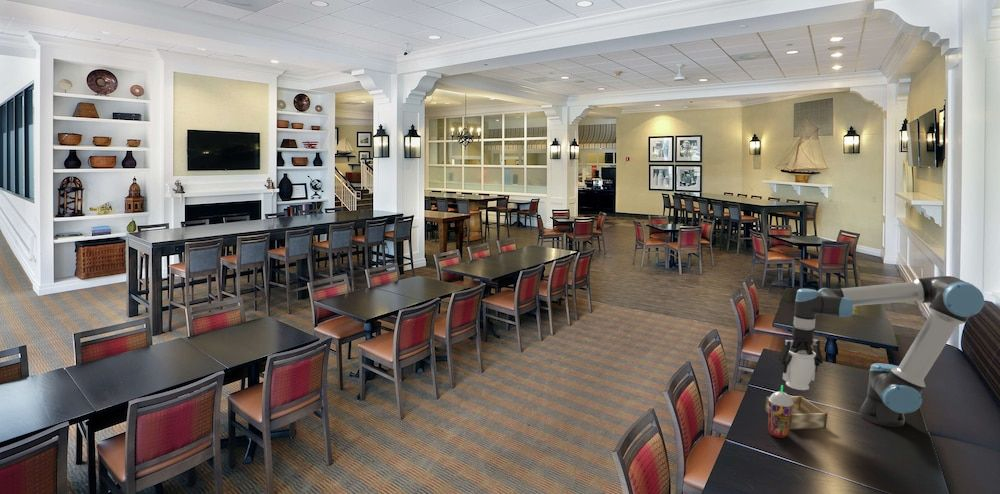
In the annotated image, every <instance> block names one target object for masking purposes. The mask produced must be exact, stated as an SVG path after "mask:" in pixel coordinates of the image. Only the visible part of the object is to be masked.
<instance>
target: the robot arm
mask: <svg viewBox="0 0 1000 494" xmlns="http://www.w3.org/2000/svg"><path fill="white" fill-rule="evenodd" d="M904 302H905V303H906V302H907V303H909V302H918V303H919V304H927V303H929V305H928V309H929V312H930V314H929V316H928V317H927V319H926V320H925V322H924V323H923V325H922V327H921V328H920V331H919V332H918V334H917V335H916V336H915V339H914V340H913V342H912V343H911V345H910V347H909V348H908V350H907V352H906V353H905V356H904V357H903V359H902V360H901V362H900V364H899V365H895V364H890V363H880V362H875V363H872V364H871V365H870V369H869V376H868V385H867V393H866V398H865V400H864V402H863V403H862V405H861V406H860V408H859V409H860V410H859V415H860V417H861V418H862V419H864V420H866V421H868V422H869V423H873V424H874V425H875V424H876V425H879V426H883V427H888V428H899V427H903V426H904V425H905V419H906V418H905V414H910V413H914V412H916V411H917V410H919V409H920V407H921V406H922V403H923V399H922V395H921V394H922V393H923V391H924V390H925V388H926V384H925V378H926V376H927V375H928V374H929V372H930V370H931V369H932V367H933V366H934V364H935V362H936V361H937V359H938V357H940V355H941V353H942V351H943V349H944V348H945V346H946V345H947V343H948V341H949V339H950V338H951V337H952V335H953V333H954V332H955V330H956V329H957V327H958V326H959V325H962V324H966V323H967V321H968V319H969V318H970V317H972V316H975V315H977V314H979V312H981V311H982V309H983V308H984V306H985V296H984V295H983V292H982V291H981V290H980V289H979V288H978V287H977V286H975V285H974V284H973V283H971V282H968V281H965V280H962V279H960V278H957V277H955V276H952V275H951V276H950V275H940V276H931V277H922V278H915V279H914V280H912V281H906V282H898V283H897V282H896V283H884V284H875V285H867V286H866V285H865V286H856V287H855V286H854V287H843V288H828V287H822V288H820V289H818V290H816V289H812V288H799V289H798V290H796V295H795V299H794V314H793V323H792V324H793V327H792V333H791V335H792V338H791V339H784V340H783V345H782V349H781V351H780V355H779V357H778V359H777V362H778V363H779V364H781V373H782V380H784V381H785V383H786V382H788V380H789V370H790V366H789V365H788V364H789V363H790V361H791V359H792V355H790V354H788V352H789V350H790V351H791V352H794V353H797V352H798V351H801V350H806V352H807V354H808V355H812V354H813V352H815V353H816V356H815V357H814V361H815V368H814V373H813V376H812V379H811V381H813V382H815V377H816V373H817V371H818V367H819V366H820V364H823V362H824V361H823V358H822V357H823V356H822V352H821V345H820V344H821V341H820V340H818V339H817V338H814V336H815V335H814V334H815V327H816V318H817V317H816V316H817V315H822V316H832V317H839V318H843V317H844V318H850V317H851V316H852V315H853V311H854V307H855V306H867V305H869V306H870V305H871V306H872V305H881V304H882V305H883V304H894V303H904ZM811 346H812V347H811ZM790 347H791V348H790ZM794 348H796V349H794Z"/></svg>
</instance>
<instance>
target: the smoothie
mask: <svg viewBox="0 0 1000 494" xmlns="http://www.w3.org/2000/svg"><path fill="white" fill-rule="evenodd" d="M768 397H769V412H767V414H768V418H767V420H768V422H767V424H768V425H767V430H768V432H769V434H770V435H771V436H773V437H774V438H781V439H782V438H786V437H787V435H788V433H789V430H790V429H789V423H790V417H791V411H792V405H793V402H792V400H791V398H790V397H789V394H788V393H786V392H784V385H783V384H781V385H780V391H775V392H773V393H772V394H771V395H770V396H768Z"/></svg>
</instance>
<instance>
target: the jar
mask: <svg viewBox="0 0 1000 494" xmlns="http://www.w3.org/2000/svg"><path fill="white" fill-rule="evenodd" d="M790 348H791V347H790ZM794 349H796V348H794ZM788 354H790V355H792V359H791V361H790V363H789V364H788V365H789V366H790V370H789V380H788V382H786V381H785V385H786V386H787V387H789V388H791V389H793V390H794V389H795V390H798V391H806V390H809V389H810V385H809V384H810V383H811V381H812V380H811V379H812V376H813V373H814V368H815V361H814V357H815V356H816V353H815V352H814V351H813V354H812V355H808V354H807V352H806V350H801V351H798V352H797V353H794V352H791V351H790V350H789V352H788Z"/></svg>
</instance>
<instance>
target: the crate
mask: <svg viewBox="0 0 1000 494" xmlns="http://www.w3.org/2000/svg"><path fill="white" fill-rule="evenodd" d="M769 397H770V396H765V407H764V411H765V412H766V413H768V412H769ZM789 397H790V398H791V400H792V402H793V405H792V411H791V417H790V423H789V429H788V430H804V429H805V430H806V429H807V430H809V429H810V430H811V429H813V430H814V429H827V422H828V412H826V411H824V410H823V409H821V408H820V407H818V406H816V405H815V404H814V403H812V402H811V401H809V400H807V399H806V398H805V397H804V396H803V395H798V396H797V395H793V396H789Z"/></svg>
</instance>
